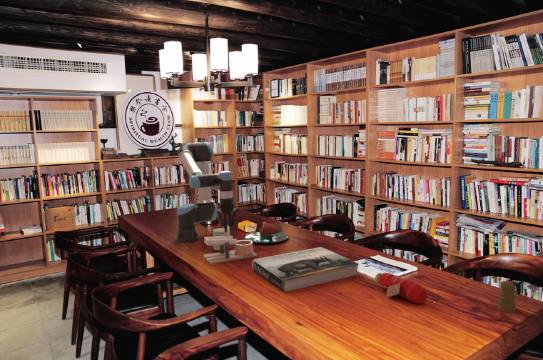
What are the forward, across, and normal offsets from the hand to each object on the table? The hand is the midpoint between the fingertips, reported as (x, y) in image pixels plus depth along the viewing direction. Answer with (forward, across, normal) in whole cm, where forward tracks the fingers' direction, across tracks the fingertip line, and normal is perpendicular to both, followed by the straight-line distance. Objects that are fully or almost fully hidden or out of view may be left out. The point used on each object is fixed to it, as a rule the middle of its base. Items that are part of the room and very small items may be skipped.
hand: (228, 237), depth 235 cm
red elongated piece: (+10, +45, -93) cm, 104 cm away
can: (+10, -2, +11) cm, 14 cm away
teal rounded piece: (+10, +31, +16) cm, 36 cm away
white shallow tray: (+1, -7, -5) cm, 9 cm away
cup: (+8, +6, -8) cm, 13 cm away
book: (+10, +23, -50) cm, 56 cm away
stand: (+9, -2, -8) cm, 12 cm away
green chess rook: (+10, +73, -122) cm, 143 cm away
